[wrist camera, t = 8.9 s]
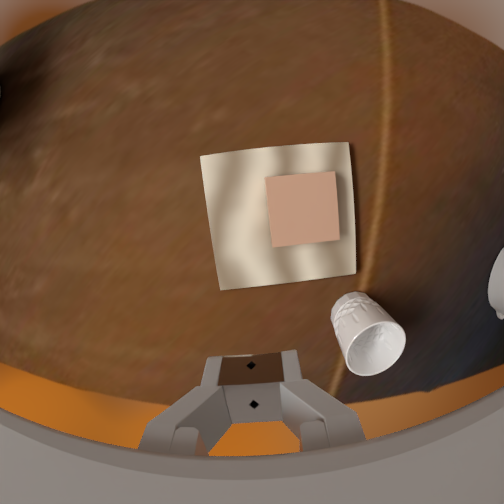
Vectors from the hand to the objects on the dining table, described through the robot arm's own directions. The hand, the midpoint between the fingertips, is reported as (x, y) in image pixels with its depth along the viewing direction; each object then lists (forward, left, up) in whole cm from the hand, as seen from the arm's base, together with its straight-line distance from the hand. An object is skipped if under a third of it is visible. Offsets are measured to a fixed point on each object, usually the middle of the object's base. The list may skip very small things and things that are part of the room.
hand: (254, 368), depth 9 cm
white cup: (-13, +14, -28) cm, 34 cm away
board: (-4, -1, -27) cm, 28 cm away
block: (-2, -2, -25) cm, 25 cm away
